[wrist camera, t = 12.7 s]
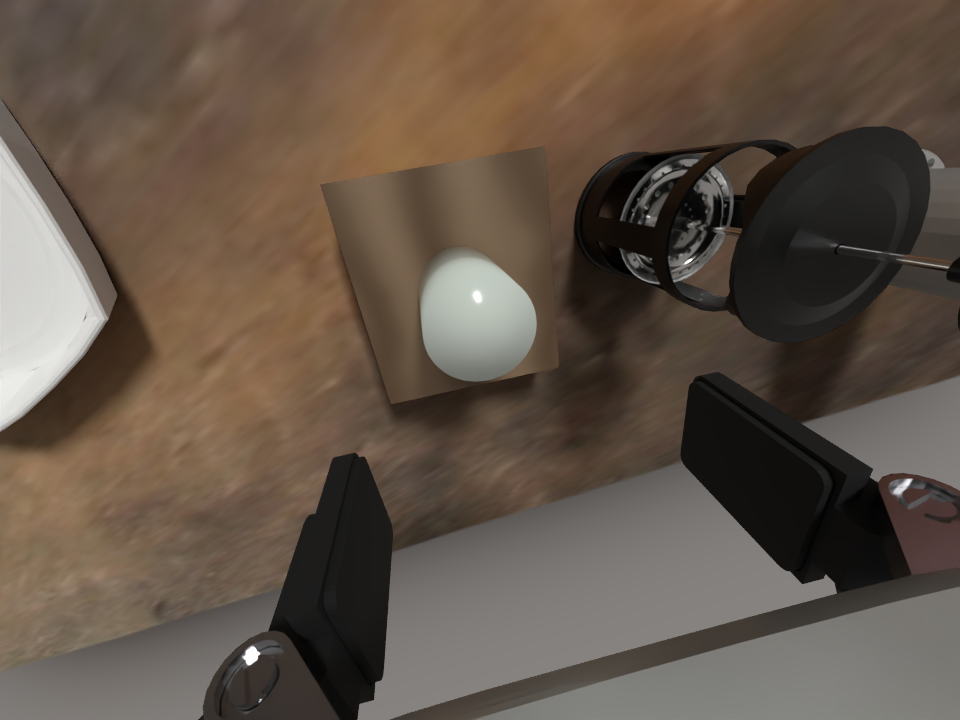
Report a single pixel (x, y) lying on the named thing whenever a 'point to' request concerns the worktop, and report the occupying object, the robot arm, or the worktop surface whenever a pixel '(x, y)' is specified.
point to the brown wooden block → (431, 229)
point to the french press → (771, 227)
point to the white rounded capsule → (473, 315)
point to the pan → (42, 279)
